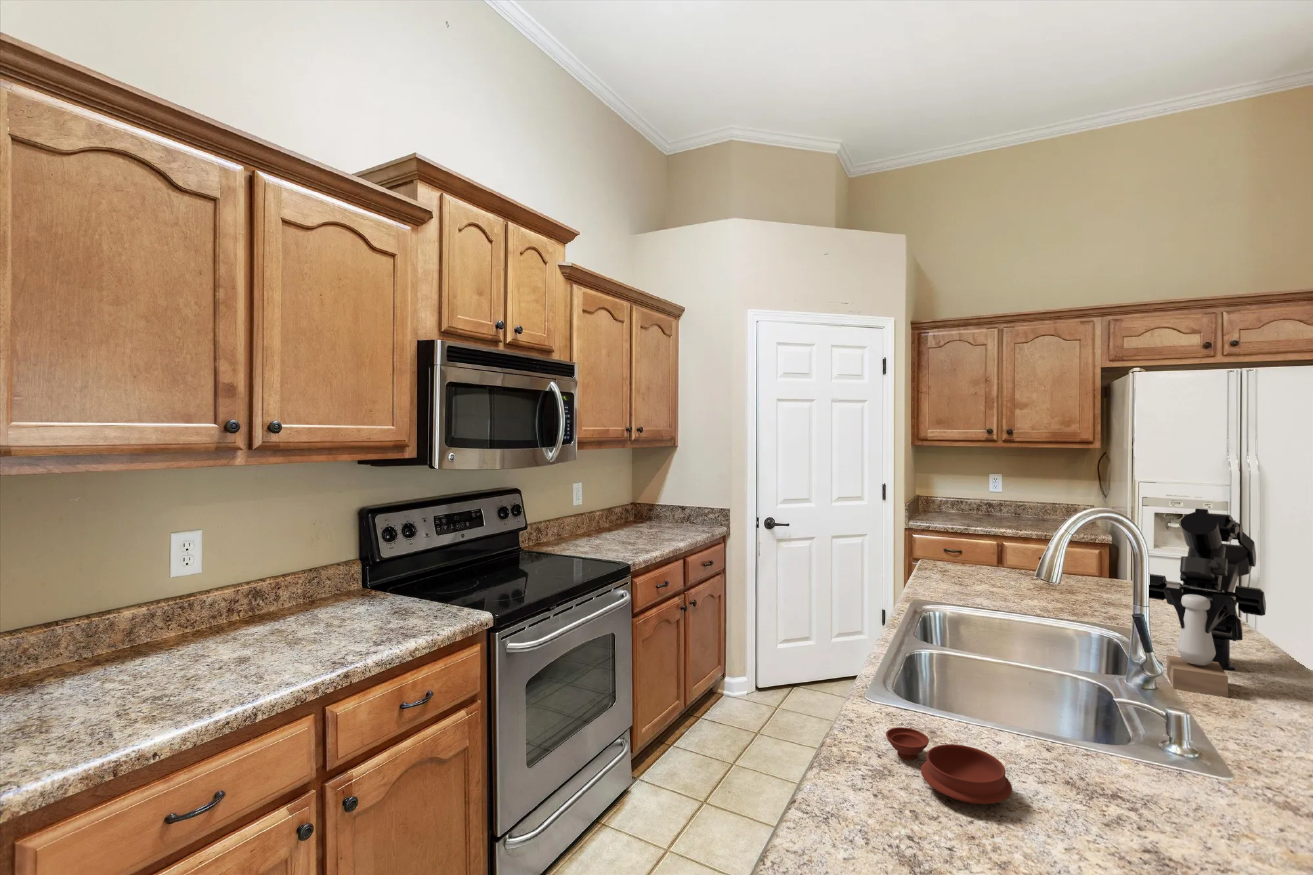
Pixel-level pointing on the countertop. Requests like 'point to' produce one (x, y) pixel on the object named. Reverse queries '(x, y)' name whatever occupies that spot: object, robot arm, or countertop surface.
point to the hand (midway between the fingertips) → (1194, 629)
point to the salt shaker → (1195, 632)
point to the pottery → (955, 768)
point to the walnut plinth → (1197, 677)
